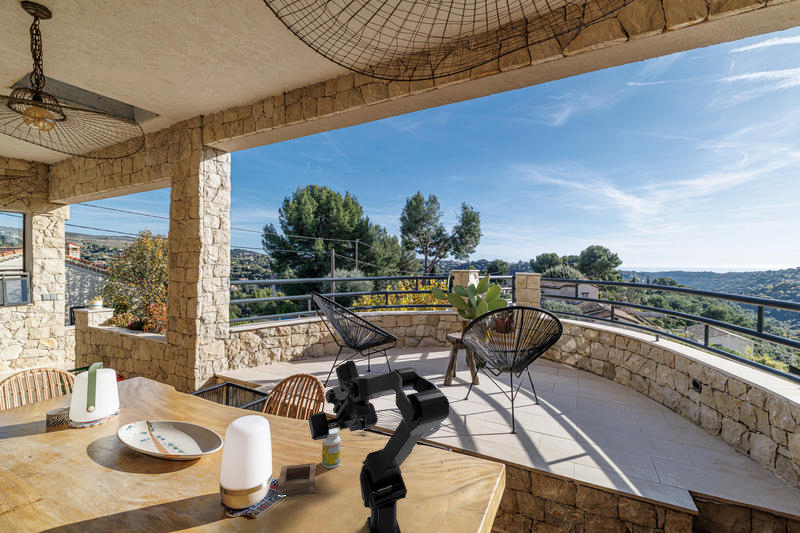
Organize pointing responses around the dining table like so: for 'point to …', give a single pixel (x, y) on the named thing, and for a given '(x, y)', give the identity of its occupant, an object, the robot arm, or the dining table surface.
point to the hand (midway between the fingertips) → (335, 433)
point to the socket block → (297, 480)
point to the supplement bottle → (331, 449)
